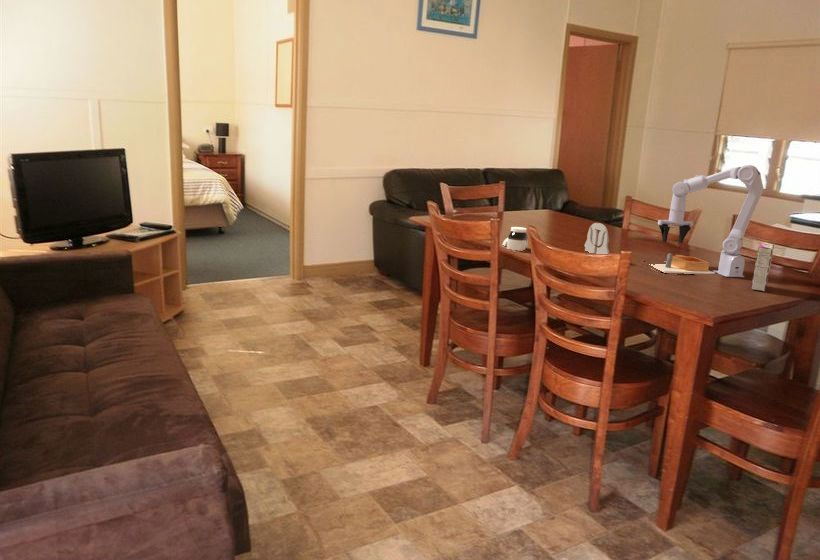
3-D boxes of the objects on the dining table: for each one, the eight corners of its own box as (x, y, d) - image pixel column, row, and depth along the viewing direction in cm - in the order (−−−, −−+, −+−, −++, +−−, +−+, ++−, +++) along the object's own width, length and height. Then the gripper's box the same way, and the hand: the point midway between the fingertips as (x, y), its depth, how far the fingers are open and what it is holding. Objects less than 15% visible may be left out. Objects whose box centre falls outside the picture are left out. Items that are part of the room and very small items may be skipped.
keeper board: (714, 275, 253) (717, 258, 252) (663, 274, 251) (666, 256, 249) (688, 265, 273) (690, 249, 271) (640, 263, 270) (642, 247, 269)
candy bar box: (752, 284, 242) (760, 242, 238) (766, 286, 239) (775, 244, 235) (749, 289, 232) (758, 246, 229) (765, 291, 230) (773, 248, 226)
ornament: (609, 267, 259) (614, 227, 255) (580, 267, 255) (585, 226, 252) (582, 256, 280) (586, 219, 276) (555, 256, 276) (559, 218, 272)
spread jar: (520, 257, 269) (523, 230, 267) (496, 253, 275) (498, 227, 272) (529, 253, 279) (532, 227, 277) (506, 249, 285) (508, 224, 282)
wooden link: (707, 271, 256) (709, 262, 255) (684, 270, 255) (686, 261, 254) (688, 263, 270) (689, 255, 269) (666, 262, 269) (667, 254, 268)
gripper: (688, 210, 267) (683, 241, 270) (656, 208, 265) (651, 239, 268) (697, 212, 260) (692, 244, 263) (664, 210, 258) (659, 242, 261)
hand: (672, 242), depth 265 cm, fingers open, 7 cm apart
